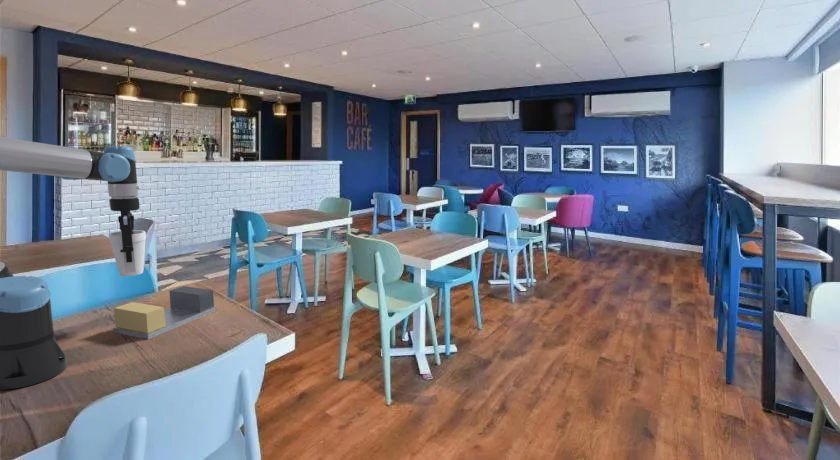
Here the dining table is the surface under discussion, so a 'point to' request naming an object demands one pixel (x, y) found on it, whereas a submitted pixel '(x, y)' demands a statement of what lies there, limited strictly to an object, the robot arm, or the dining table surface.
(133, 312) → the block
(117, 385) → the dining table surface
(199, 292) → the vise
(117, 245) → the foam cup
